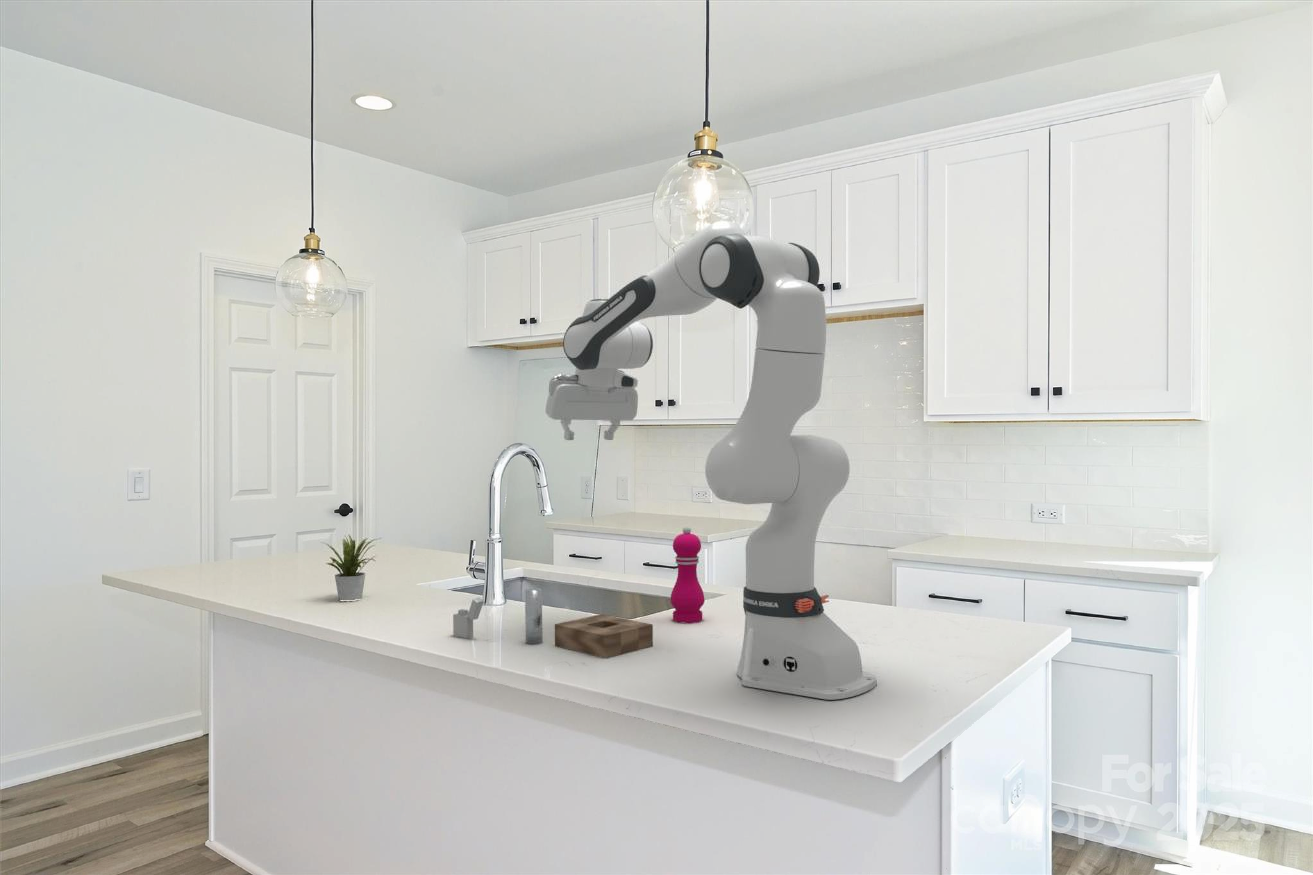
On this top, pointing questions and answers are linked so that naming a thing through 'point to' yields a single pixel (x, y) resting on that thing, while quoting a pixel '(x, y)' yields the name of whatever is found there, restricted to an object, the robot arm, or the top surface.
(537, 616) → the steel peg
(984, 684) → the top surface
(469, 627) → the lighter
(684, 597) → the pepper mill
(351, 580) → the house plant
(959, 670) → the top surface
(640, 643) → the walnut hole block
